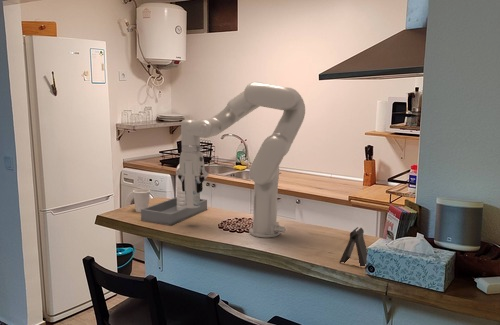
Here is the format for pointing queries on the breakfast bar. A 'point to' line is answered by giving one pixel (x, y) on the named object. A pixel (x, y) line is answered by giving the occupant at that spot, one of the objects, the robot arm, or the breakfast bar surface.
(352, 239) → the phone stand
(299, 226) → the breakfast bar surface
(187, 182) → the spray can
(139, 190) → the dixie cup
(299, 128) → the robot arm
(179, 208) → the water bottle
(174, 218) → the tray
